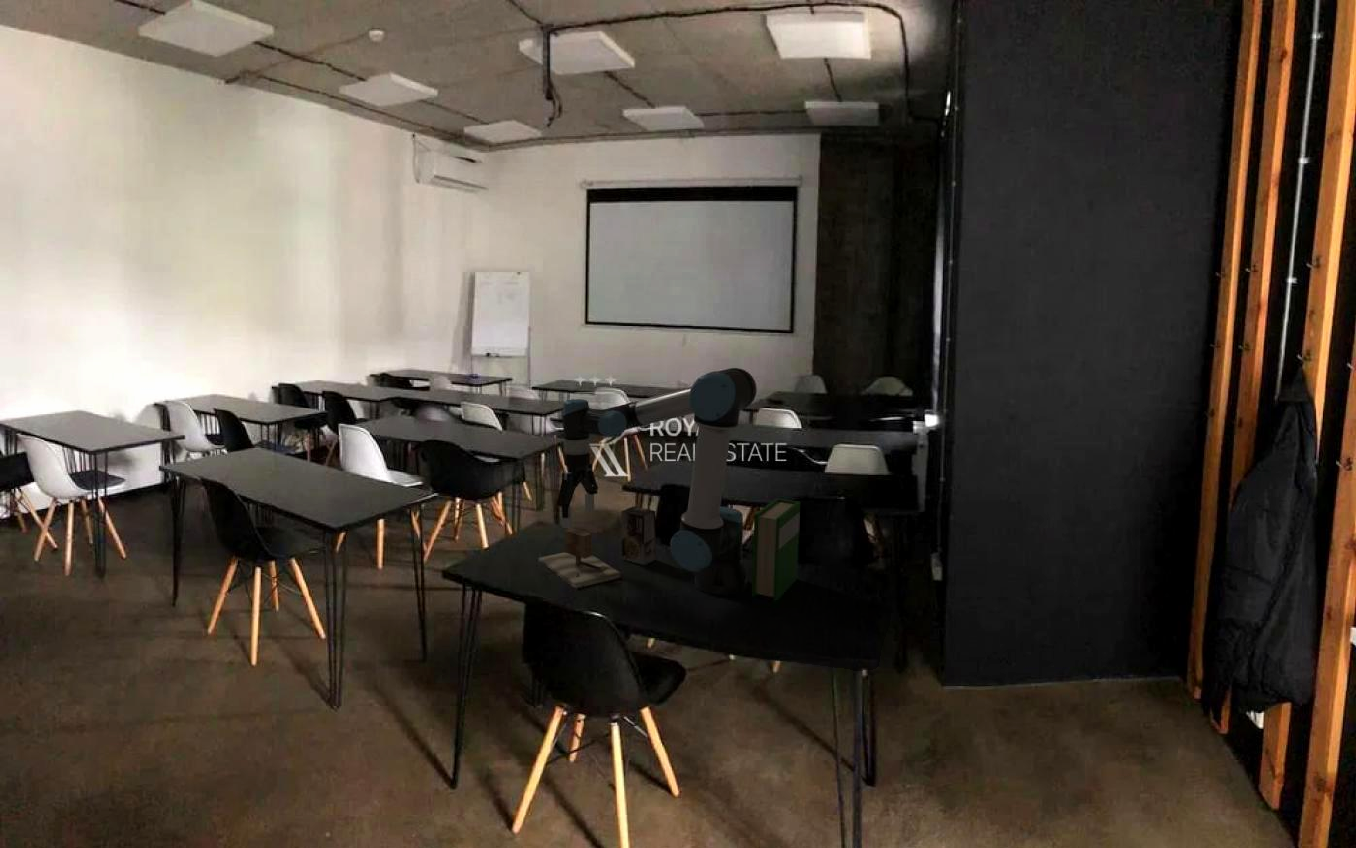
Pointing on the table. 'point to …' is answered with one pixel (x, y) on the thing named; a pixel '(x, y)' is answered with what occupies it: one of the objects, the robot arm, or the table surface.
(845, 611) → the table surface
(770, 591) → the hardback book
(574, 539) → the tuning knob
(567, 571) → the striped wooden board
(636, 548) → the coffee box
